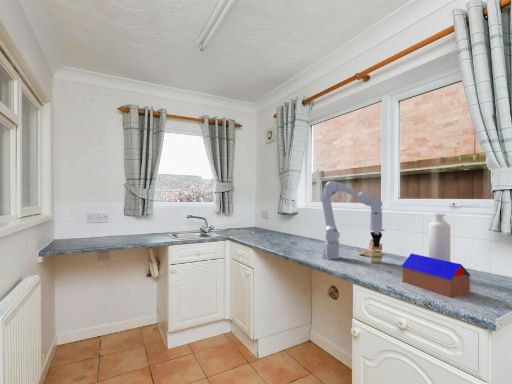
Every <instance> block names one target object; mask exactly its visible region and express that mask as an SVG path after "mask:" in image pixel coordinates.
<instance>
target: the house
mask: <svg viewBox="0 0 512 384" xmlns="http://www.w3.org/2000/svg"><path fill="white" fill-rule="evenodd" d="M401 267H402V283H404V284H408V285H410V286H414V287H416V288H420V289H423V290H425V291H430V292H432V293H435V294H437V295H441V296H444V297H446V298H451V299H452V298H454V297H455V298H456V297H460V296H464V295H469V294H471V292H470V291H471V290H470V289H471V288H470V287H471V285H470V284H471V283H470V282H471V281H470V280H471V277H472V276H471V273H469V272H468V271H467V270H466V268H465V267H464V266H463V265H462V264H461V263H457V262H453V261H450V262H449V261H444V260H439V259H435V258H430V257H429V256H425V255H421V254H420V255H419V254H415V253H410V254H409V256H408V257H407V258H406V260H404V262H403V264H402V265H401Z"/></svg>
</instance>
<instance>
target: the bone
mask: <svg viewBox="0 0 512 384" xmlns="http://www.w3.org/2000/svg"><path fill="white" fill-rule="evenodd" d="M372 243H373V238H371V239H370V240H369V247H368V249H367V250H363V251H362V250H361V251H360V252H359V253H358V256H359V255H360V256H361V255H362V256H365V257H369V258H371V250H372ZM373 251H377V250H373Z"/></svg>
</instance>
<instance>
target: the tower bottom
mask: <svg viewBox="0 0 512 384" xmlns="http://www.w3.org/2000/svg"><path fill="white" fill-rule="evenodd" d="M370 262H371V264H380V265H382V258H372V257H370Z"/></svg>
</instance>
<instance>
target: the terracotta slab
mask: <svg viewBox="0 0 512 384" xmlns="http://www.w3.org/2000/svg"><path fill="white" fill-rule="evenodd" d="M371 246H372V250H376V251H381V252H382V251H383V243H381V242H380V243H379V247H374V243H372V244H371Z"/></svg>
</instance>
